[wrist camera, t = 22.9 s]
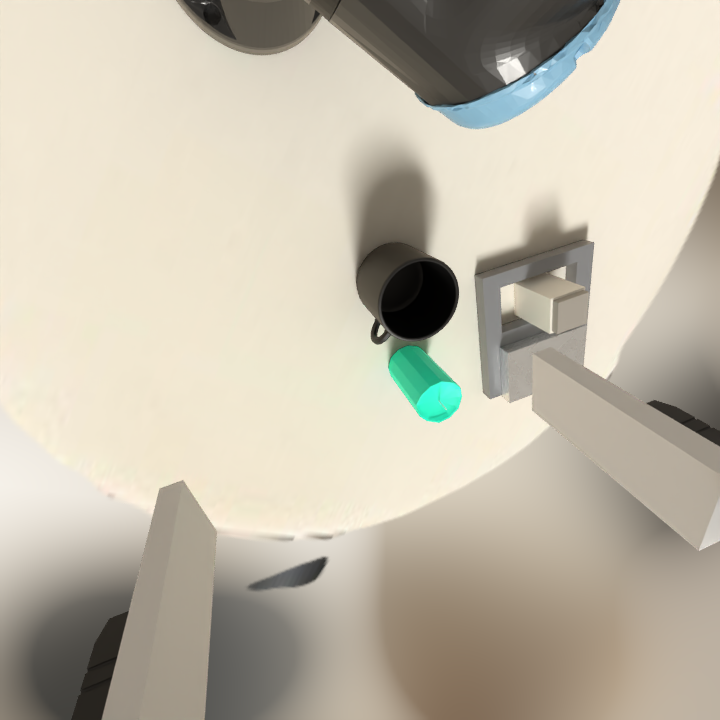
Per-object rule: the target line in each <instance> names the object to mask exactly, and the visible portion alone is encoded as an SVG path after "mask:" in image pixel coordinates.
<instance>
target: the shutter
mask: <svg viewBox="0 0 720 720" xmlns="http://www.w3.org/2000/svg"><path fill="white" fill-rule="evenodd" d="M586 331H587V325H586V324H584V325H581V326H578V327H575V328H573V329H570V330H567V331H565V332H562V333H559V334H556V333H551V334H549V333H547V332H542V333H539V334H536V335H534V336H531V337H528V338H525V339H522V340H520V341H517V342H514V343H511V344H508V345H506V346H503V347H500V365H501V389H502V397H503V398H504V399H505V400H507V401H508V402H509V403H511V402H514V401H516V400H519V399H522V398H524V397H527V396H529V395H532V369H533V353H535V352H538V351H541V350H544V349H546V348H549V347H551V348H553V349H555V350H556V351H558V352H560V353H562V354H563V355H565V356H567V357H568V358H570V359H572V360H573V361H575V362H577V363H579V364H580V365H582V366H583V365H584V354H585V342H586Z"/></svg>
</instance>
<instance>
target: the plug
mask: <svg viewBox="0 0 720 720" xmlns="http://www.w3.org/2000/svg"><path fill="white" fill-rule="evenodd" d="M588 302H589V292H588V291H585V287H584V286H581V285H579V284H576V283H573V282H570V281H567V280H564V279H562V278H559V277H556V276H553V275H550V274H548V273H543V274H540V275H537V276H534V277H531V278H528V279H525V280H522V281H519V282H516V283H514V307H515V315H516V316H518V317H520V318H522V319H523V320H525V321H527V322H529V323H531V324H533V325H534V326H536V327H538V328H540V329H542V330H543V331H545V332H547V333H549V334H551V333H556V334H559V333H562V332H565V331H567V330H570V329H573V328H575V327H578V326H581V325H584V324H586V323H587V314H588Z"/></svg>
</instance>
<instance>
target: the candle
mask: <svg viewBox="0 0 720 720" xmlns="http://www.w3.org/2000/svg"><path fill="white" fill-rule="evenodd" d="M388 368H389V371H390V374H391V377H392V378H393V380H394V381H395V382H396V384H397V385H398V387H399V388H400V389H401V391H402V392H403V393H404V395H405V396H406V398H407V399H408V400H409V402H410V403H411V405H412V406H413V407H414V409H415V410H416V412H417V413H418V414H419V416H420V417H421V418H423V419H425V420H426V421H431V422H438V423H440V422H442V421H444V420H446V419H448V418H450V417H451V416H452V415H453V414H454V412H455V411H456V410H457V409H458V408H459V405H460V401H461V398H462V395H461V388H460V387H459V386H458V385H457V384H456V383H455V382H454V381H453V380H452V379H451V378H450V377H449V376H448V375H447V374H446V373H445V372H444V371H443V370H442V369H441V368H440V367H439V366H438V365H437V364H436V363H435V362H434V361H433V360H432V359H431V358H430V357H429V356H428V355H427V354H426V353H425V352H424V351H423V350H422V349H421V348H419V347H418V346H410V345H408V346H406V347H403V348H401V349H398V350H397V352H396V353H395V354H394V355H393V356H392V357H391V359H390V363H389V367H388Z"/></svg>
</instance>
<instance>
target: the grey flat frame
mask: <svg viewBox="0 0 720 720" xmlns="http://www.w3.org/2000/svg"><path fill="white" fill-rule="evenodd" d="M593 250H594V242H590V241H585V240H581V241H578V242H575V243H572V244H569V245H566V246H563V247H560V248H557V249H554V250H551V251H548V252H545V253H541V254H538V255H535V256H532V257H529V258H526V259H523V260H520V261H517V262H514V263H511V264H508V265H505V266H502V267H498V268H495V269H492V270H489V271H486V272H483V273H480V274H477V275H475V287H476V301H477V314H478V328H479V342H480V356H481V369H482V383H483V393H484V394H485V395H486V396H487V397H488V398H489V399H492V398H495V397H497V396H500V395H502V389H501V365H500V347H503V346H506V345H508V344H511V343H514V342H517V341H520V340H522V339H525V338H528V337H531V336H534V335H536V334H539V333H542V332H545V331H543V330H542V329H540V328H538V327H536V326H534V325H533V324H531V323H529V322H527V321H525V320H523V319H522V318H521V319H518V320H516V321H513V322H510V323H507V324H504V325H502V321H501V295H500V288H501V287H504V286H507V285H510V284H513V283H516V282H519V281H522V280H525V279H528V278H531V277H534V276H537V275H540V274H543V273H546V272H549V271H552V270H555V269H558V268H561V267H564V266H566V280H567V281H570V282H573V283H576V284H579V285H581V286H584V287H585V291H588V292H589V296H590V284H591V273H592V262H593ZM588 307H589V302H588ZM587 319H588V314H587ZM586 325H587V323H586Z"/></svg>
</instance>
